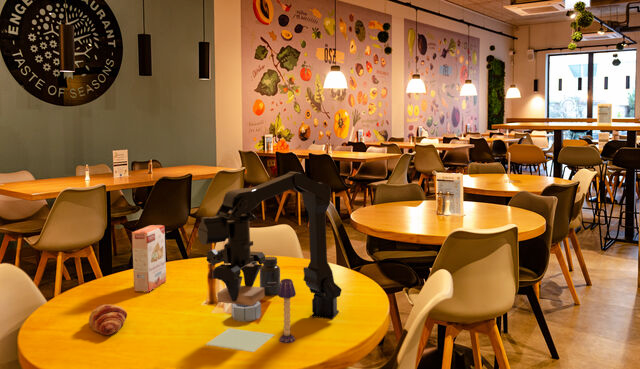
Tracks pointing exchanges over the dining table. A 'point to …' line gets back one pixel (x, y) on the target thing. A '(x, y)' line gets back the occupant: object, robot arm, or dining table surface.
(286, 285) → the toy lamp
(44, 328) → the dining table surface
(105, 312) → the croissant
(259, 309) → the bowl
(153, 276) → the cracker box
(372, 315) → the dining table surface
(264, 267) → the supplement bottle
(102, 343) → the dining table surface
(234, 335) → the mat
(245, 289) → the brown flat block
